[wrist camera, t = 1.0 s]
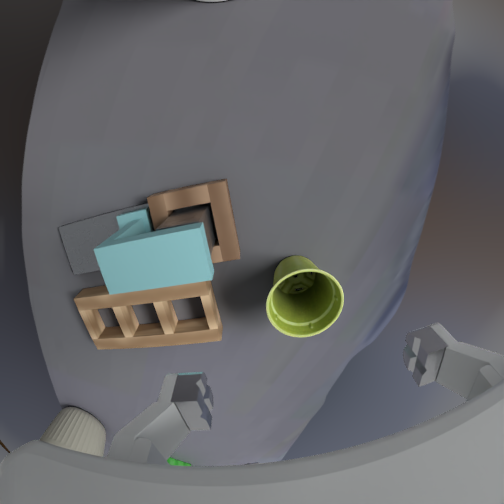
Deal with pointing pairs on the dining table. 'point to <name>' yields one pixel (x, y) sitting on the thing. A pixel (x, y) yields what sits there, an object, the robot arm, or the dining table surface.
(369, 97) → the dining table surface
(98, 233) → the socket frame
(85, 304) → the rack
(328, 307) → the plant pot
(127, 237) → the plate
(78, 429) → the canister
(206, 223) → the grey rectangular block
